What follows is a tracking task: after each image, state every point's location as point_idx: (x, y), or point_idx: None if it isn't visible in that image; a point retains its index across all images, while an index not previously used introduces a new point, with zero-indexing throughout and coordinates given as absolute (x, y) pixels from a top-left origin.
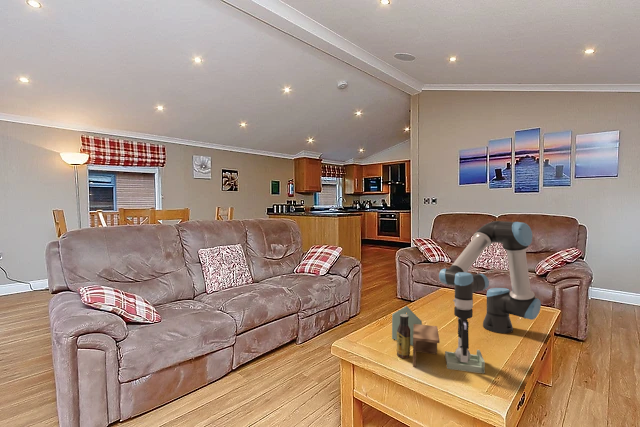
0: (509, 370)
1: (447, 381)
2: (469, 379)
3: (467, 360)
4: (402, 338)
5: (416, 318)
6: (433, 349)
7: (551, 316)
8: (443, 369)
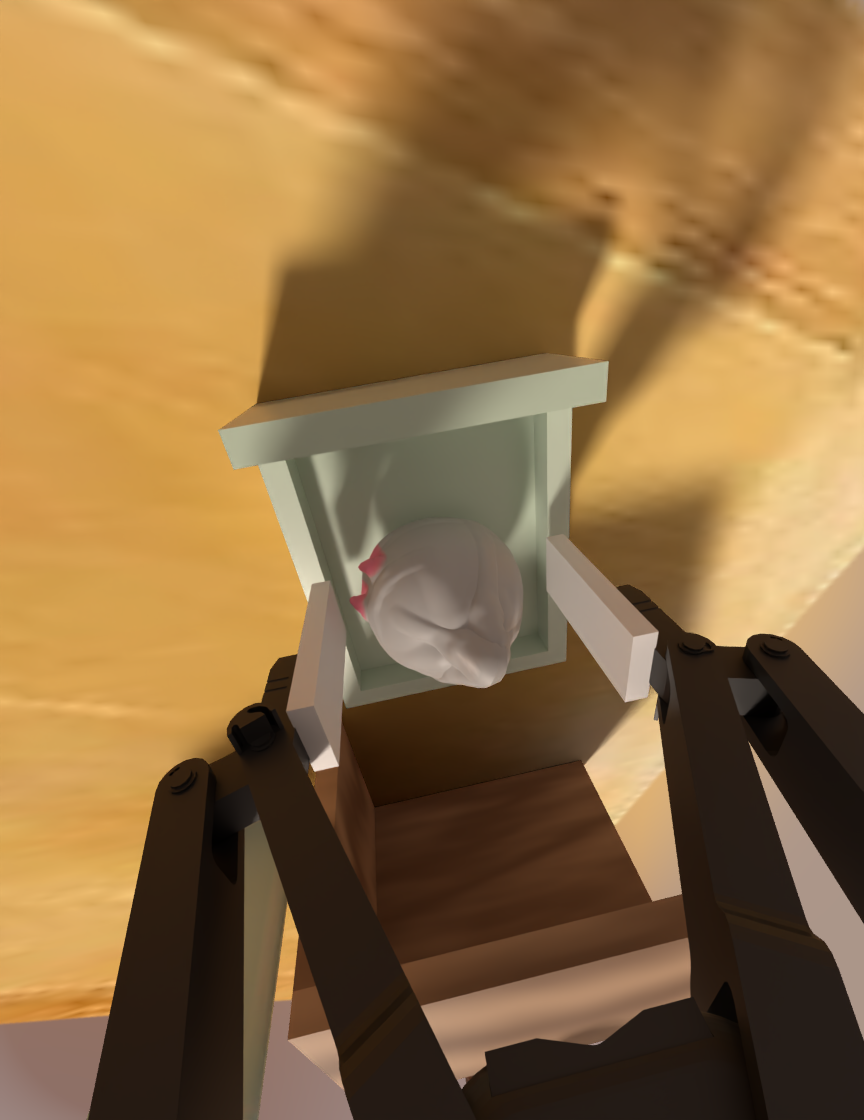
0: None
1: (717, 605)
2: (675, 481)
3: (574, 546)
4: None
5: None
6: (346, 766)
7: None
8: None
